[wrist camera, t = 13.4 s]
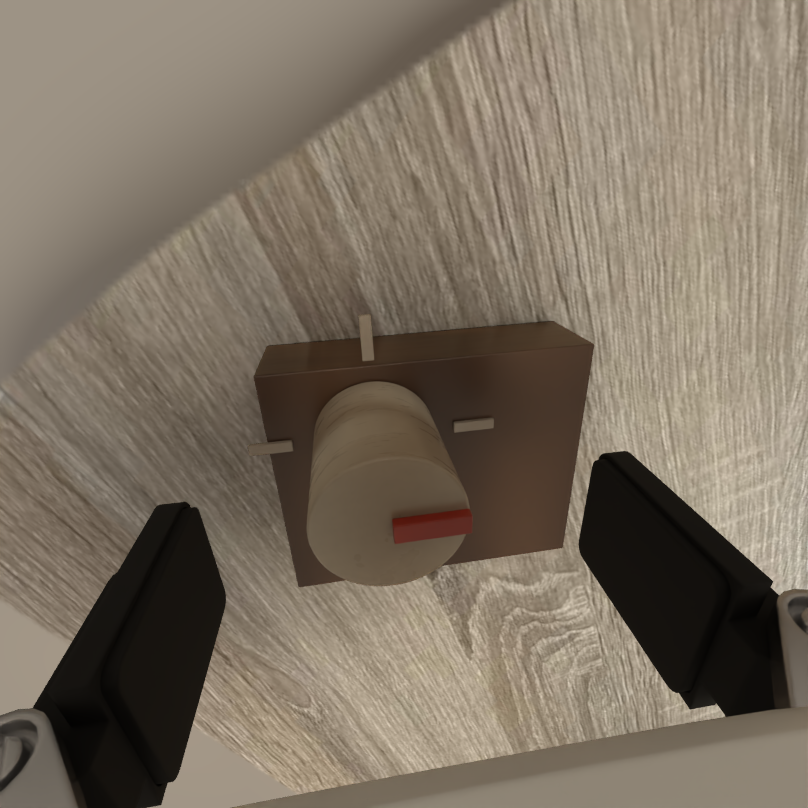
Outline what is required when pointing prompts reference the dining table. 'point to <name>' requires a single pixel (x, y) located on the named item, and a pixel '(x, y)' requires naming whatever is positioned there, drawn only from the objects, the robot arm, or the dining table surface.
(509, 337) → the tap panel
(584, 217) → the dining table surface
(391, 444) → the tap knob
